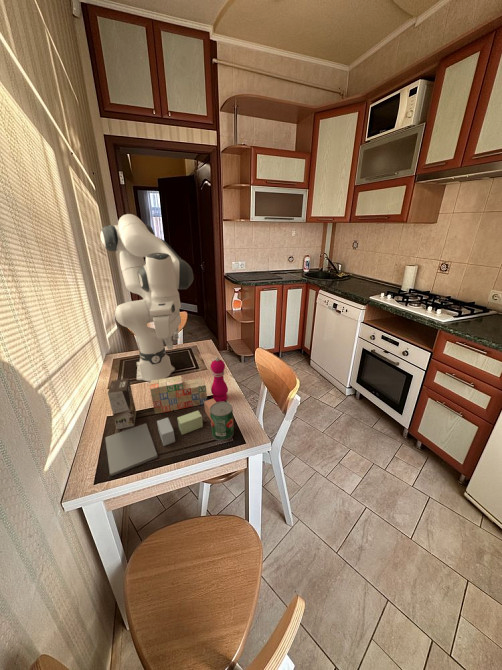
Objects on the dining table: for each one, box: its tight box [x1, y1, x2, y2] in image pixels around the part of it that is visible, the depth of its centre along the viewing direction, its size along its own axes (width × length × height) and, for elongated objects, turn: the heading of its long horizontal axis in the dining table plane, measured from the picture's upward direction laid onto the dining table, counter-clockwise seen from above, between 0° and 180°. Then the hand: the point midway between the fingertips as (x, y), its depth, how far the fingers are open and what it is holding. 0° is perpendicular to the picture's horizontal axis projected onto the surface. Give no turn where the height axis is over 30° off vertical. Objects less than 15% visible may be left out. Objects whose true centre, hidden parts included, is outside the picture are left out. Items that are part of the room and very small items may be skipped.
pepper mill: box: [210, 356, 229, 402], centre depth 115 cm, size 7×7×20 cm
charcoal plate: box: [104, 423, 159, 477], centre depth 92 cm, size 18×14×1 cm
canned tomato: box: [210, 401, 235, 442], centre depth 97 cm, size 8×8×11 cm
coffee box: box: [107, 377, 137, 430], centre depth 103 cm, size 9×6×16 cm
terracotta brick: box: [203, 398, 217, 420], centre depth 107 cm, size 4×8×5 cm, turn 31°
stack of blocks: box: [149, 375, 208, 415], centre depth 112 cm, size 21×6×12 cm, turn 107°
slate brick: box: [156, 417, 176, 447], centre depth 97 cm, size 4×8×5 cm, turn 29°
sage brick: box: [177, 410, 204, 435], centre depth 101 cm, size 4×8×5 cm, turn 120°
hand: (173, 343), depth 94 cm, fingers open, 8 cm apart
